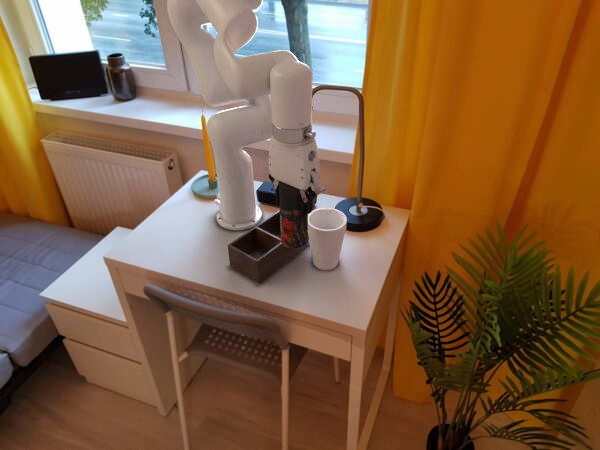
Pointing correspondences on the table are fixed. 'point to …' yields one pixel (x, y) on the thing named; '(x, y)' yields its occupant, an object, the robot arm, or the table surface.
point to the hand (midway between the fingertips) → (293, 208)
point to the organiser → (265, 242)
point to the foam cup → (326, 236)
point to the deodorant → (292, 217)
